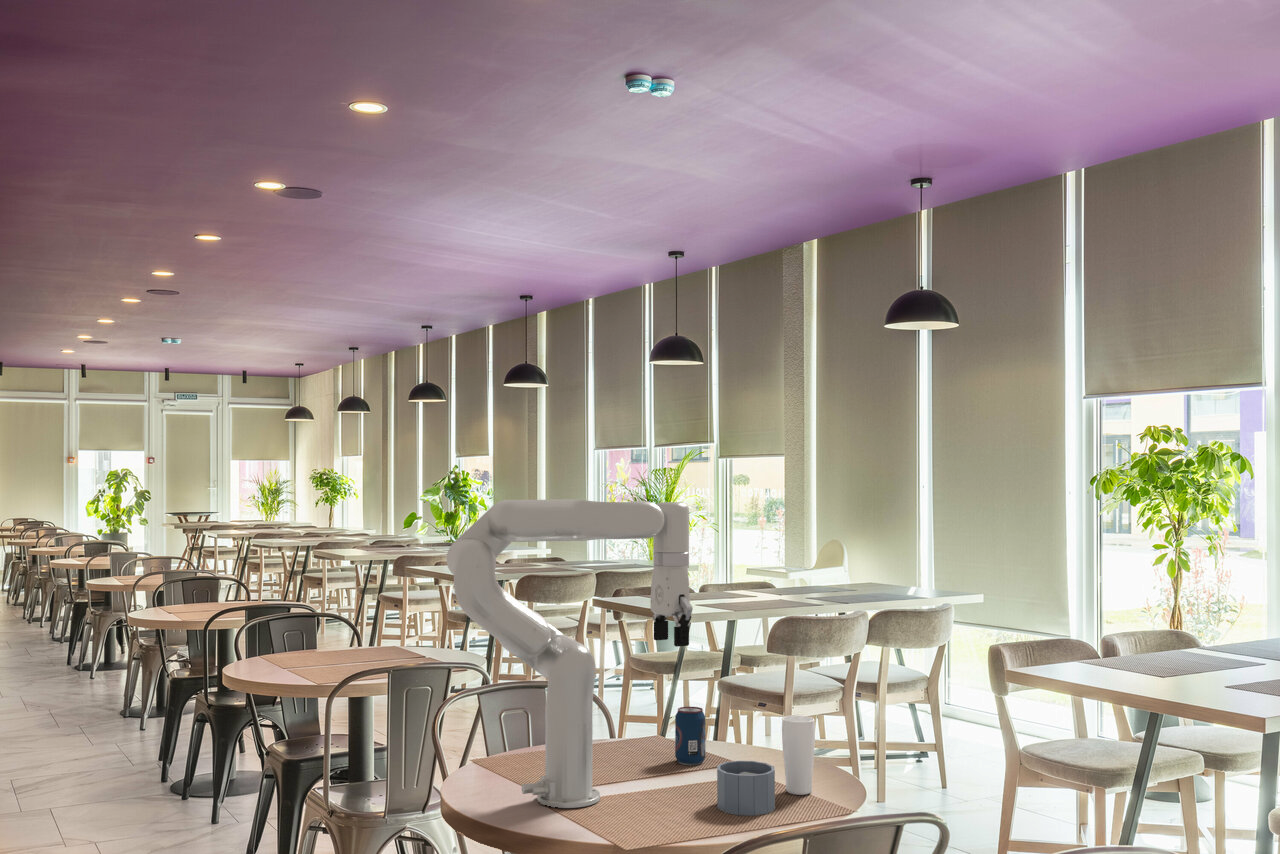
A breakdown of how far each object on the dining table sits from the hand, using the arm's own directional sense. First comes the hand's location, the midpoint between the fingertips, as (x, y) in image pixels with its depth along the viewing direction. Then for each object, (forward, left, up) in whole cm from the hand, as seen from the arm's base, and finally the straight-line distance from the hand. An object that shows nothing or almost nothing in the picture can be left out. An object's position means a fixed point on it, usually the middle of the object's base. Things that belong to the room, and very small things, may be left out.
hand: (671, 642), depth 221 cm
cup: (+8, -17, -30) cm, 36 cm away
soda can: (+14, +18, -30) cm, 38 cm away
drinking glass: (+23, -13, -30) cm, 40 cm away
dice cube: (+9, -17, -30) cm, 35 cm away
